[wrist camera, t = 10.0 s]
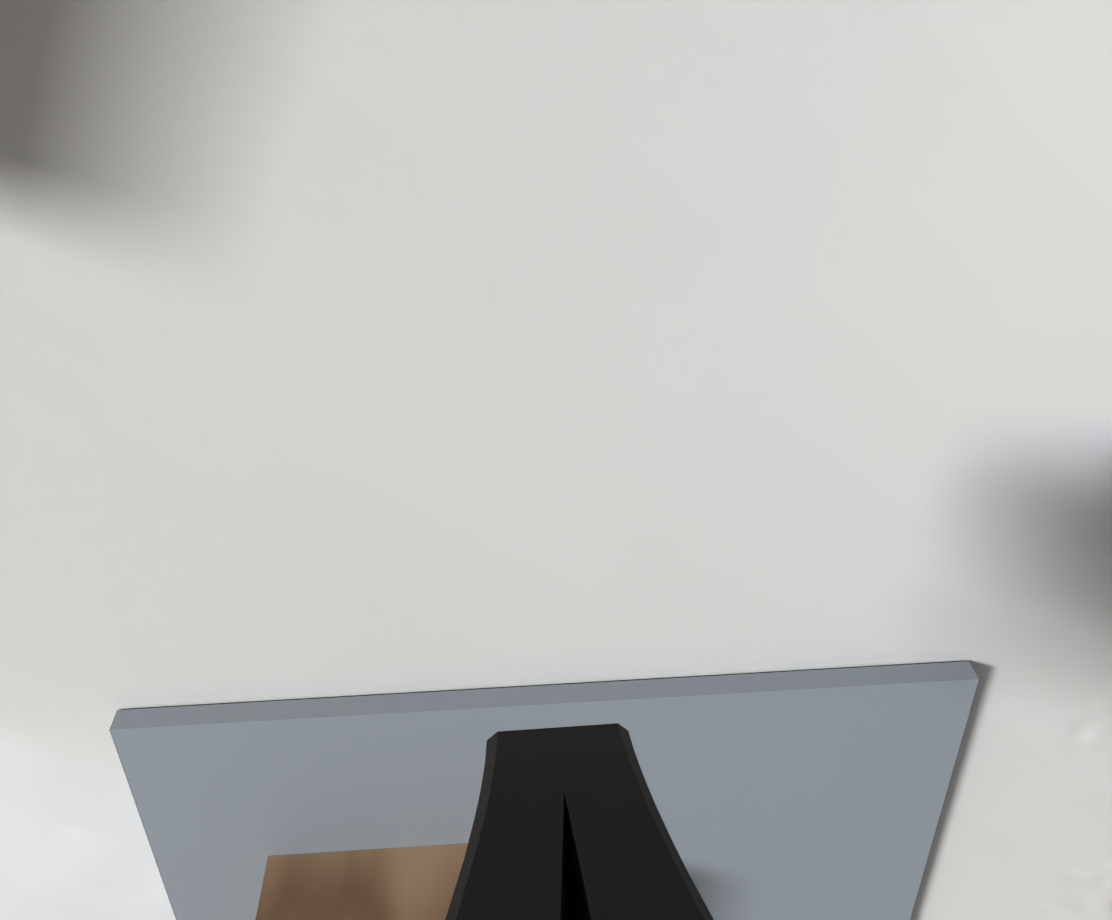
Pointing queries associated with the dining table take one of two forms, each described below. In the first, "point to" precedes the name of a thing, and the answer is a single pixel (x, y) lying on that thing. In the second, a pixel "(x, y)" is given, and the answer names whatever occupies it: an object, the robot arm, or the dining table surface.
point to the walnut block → (362, 884)
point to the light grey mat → (638, 705)
